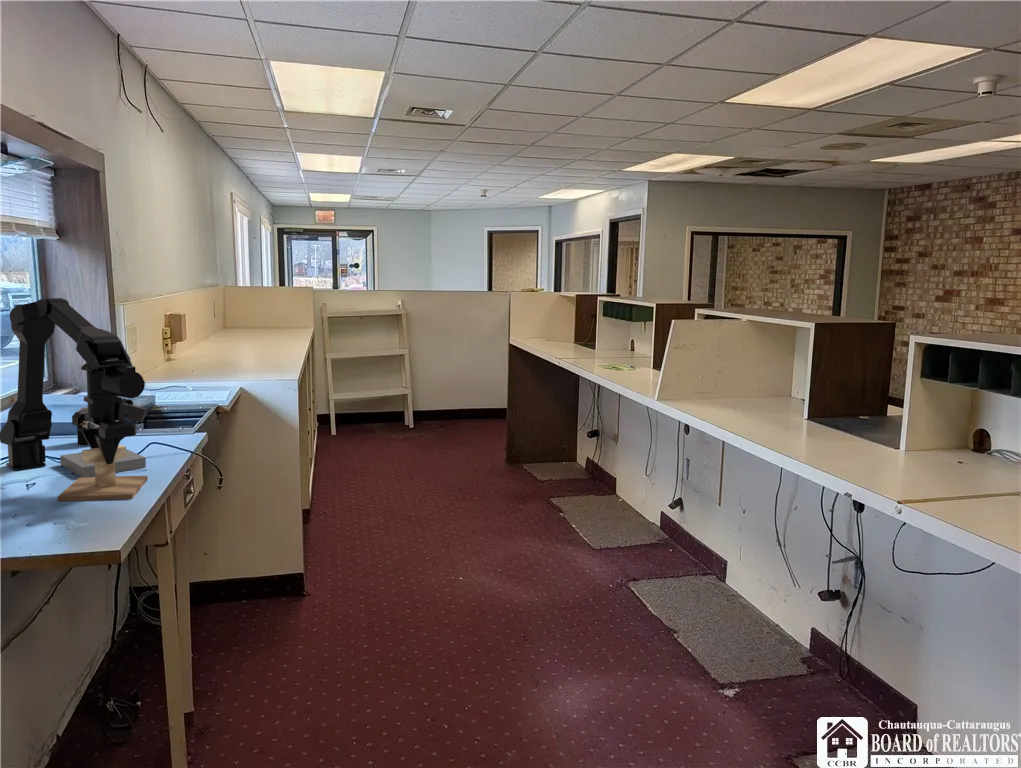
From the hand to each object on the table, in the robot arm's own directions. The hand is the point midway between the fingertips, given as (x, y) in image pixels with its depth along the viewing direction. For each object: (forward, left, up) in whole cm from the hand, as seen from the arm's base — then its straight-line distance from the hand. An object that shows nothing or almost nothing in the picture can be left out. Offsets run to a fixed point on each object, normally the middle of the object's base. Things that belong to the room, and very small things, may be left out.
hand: (104, 461), depth 149 cm
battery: (+14, +44, -7) cm, 47 cm away
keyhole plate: (+7, +19, -6) cm, 21 cm away
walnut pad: (0, 0, -6) cm, 6 cm away
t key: (0, 0, -6) cm, 6 cm away
